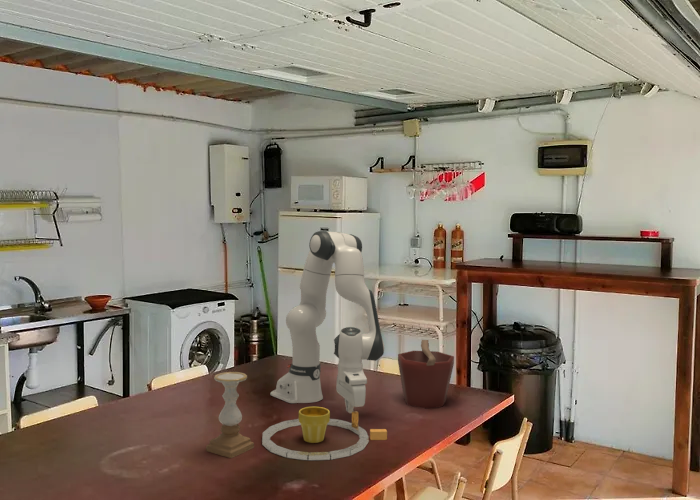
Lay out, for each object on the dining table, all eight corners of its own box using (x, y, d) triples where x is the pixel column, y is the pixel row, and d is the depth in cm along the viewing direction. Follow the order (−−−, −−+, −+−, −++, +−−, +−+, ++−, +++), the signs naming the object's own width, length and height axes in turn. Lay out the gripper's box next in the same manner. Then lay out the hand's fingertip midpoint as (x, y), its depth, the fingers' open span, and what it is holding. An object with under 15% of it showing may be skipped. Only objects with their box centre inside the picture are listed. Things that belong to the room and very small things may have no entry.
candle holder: (231, 459, 192) (231, 382, 191) (205, 451, 198) (205, 376, 196) (254, 448, 201) (255, 374, 200) (229, 441, 207) (229, 369, 206)
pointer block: (370, 440, 210) (370, 431, 210) (369, 437, 212) (369, 429, 212) (386, 440, 210) (387, 431, 210) (385, 437, 213) (386, 429, 212)
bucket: (445, 414, 239) (446, 349, 238) (389, 407, 246) (390, 344, 245) (455, 396, 262) (457, 337, 261) (404, 390, 269) (405, 333, 268)
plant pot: (324, 446, 203) (324, 417, 203) (294, 443, 206) (294, 414, 205) (332, 436, 213) (333, 407, 213) (303, 433, 216) (304, 405, 215)
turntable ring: (240, 441, 206) (240, 422, 206) (310, 415, 234) (310, 398, 233) (321, 469, 185) (321, 448, 184) (388, 437, 212) (388, 418, 212)
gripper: (332, 367, 232) (331, 404, 233) (351, 381, 213) (351, 421, 214) (348, 366, 234) (347, 402, 235) (369, 380, 215) (368, 419, 216)
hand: (349, 411), depth 224 cm, fingers closed
